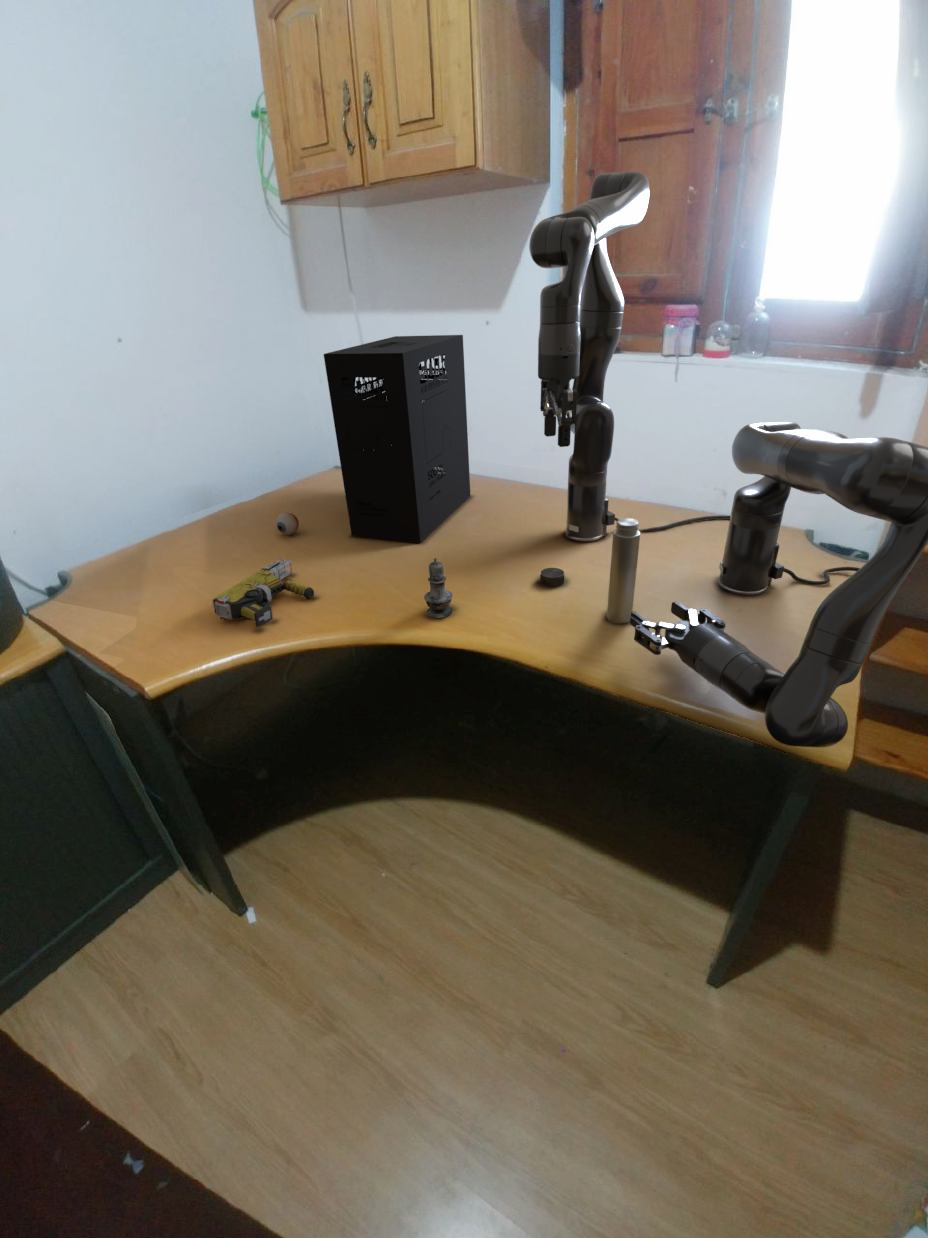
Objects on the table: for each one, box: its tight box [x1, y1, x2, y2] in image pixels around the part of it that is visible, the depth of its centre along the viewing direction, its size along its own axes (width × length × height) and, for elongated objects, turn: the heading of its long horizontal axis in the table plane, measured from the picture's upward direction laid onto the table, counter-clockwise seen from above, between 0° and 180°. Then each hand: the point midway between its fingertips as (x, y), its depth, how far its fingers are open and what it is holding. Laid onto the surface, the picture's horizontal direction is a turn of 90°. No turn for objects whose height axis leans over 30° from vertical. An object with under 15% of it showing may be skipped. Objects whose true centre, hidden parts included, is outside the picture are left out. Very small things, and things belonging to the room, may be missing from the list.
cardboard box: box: [323, 334, 471, 544], centre depth 162 cm, size 38×20×45 cm, turn 159°
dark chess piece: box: [423, 557, 454, 619], centre depth 120 cm, size 6×6×12 cm
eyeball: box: [275, 511, 300, 536], centre depth 163 cm, size 6×6×6 cm
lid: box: [539, 567, 565, 588], centre depth 132 cm, size 5×5×2 cm
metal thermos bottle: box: [606, 517, 641, 625], centre depth 113 cm, size 5×5×20 cm
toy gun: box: [212, 558, 315, 628], centre depth 130 cm, size 5×24×15 cm
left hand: (556, 440), depth 117 cm, fingers open, 8 cm apart
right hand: (652, 611), depth 106 cm, fingers open, 8 cm apart
